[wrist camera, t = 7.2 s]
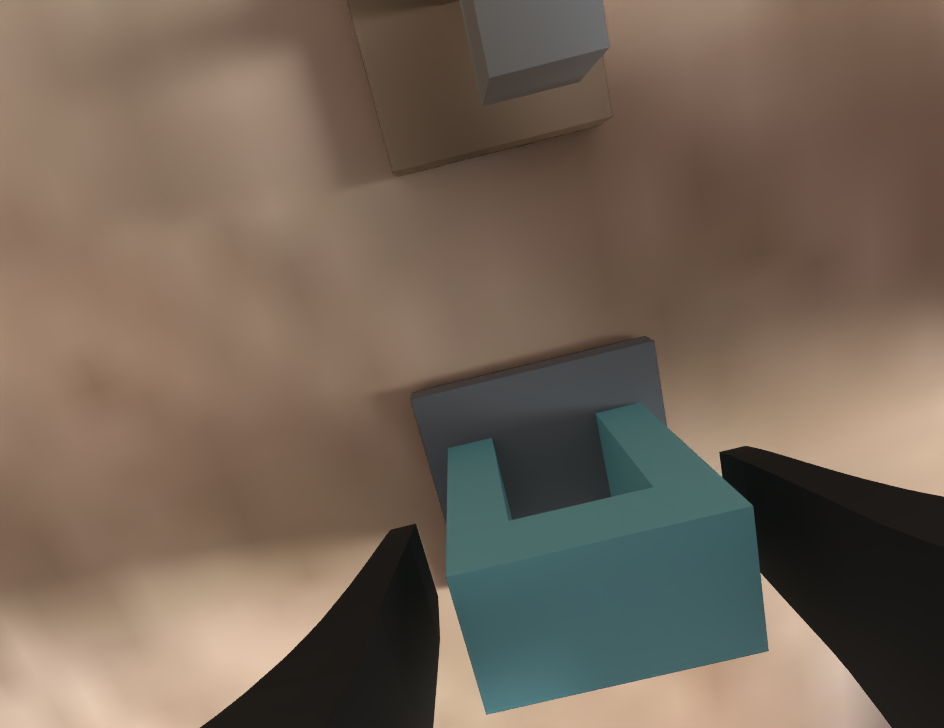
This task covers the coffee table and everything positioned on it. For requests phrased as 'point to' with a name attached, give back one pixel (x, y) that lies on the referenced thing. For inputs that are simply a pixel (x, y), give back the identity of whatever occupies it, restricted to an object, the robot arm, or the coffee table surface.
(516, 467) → the mat
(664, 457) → the teal notched block
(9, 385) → the coffee table surface
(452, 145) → the stand
